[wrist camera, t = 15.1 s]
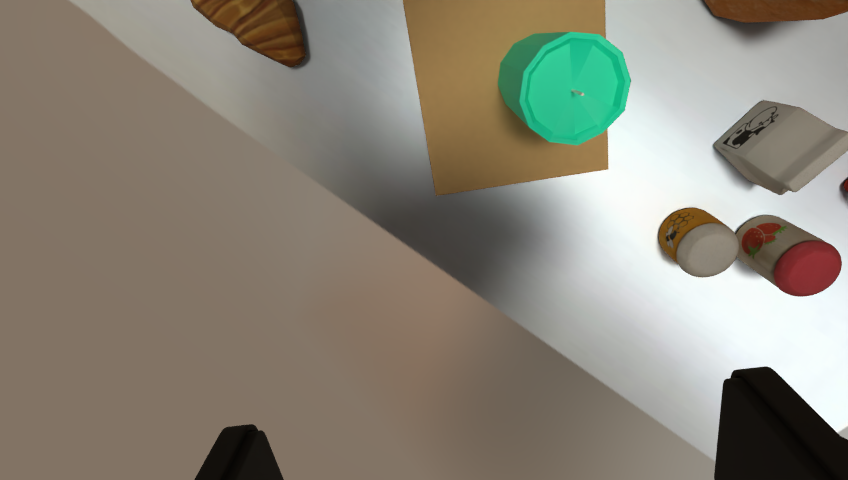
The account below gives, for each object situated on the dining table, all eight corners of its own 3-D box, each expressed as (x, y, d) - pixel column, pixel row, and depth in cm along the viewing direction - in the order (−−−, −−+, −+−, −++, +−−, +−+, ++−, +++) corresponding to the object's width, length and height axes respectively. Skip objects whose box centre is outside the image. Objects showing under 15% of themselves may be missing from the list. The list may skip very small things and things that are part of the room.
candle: (481, 71, 35) (500, 87, 24) (548, 13, 33) (601, 1, 22) (528, 133, 37) (566, 174, 26) (594, 81, 35) (664, 101, 24)
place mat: (388, -86, 32) (388, -87, 31) (601, -132, 30) (602, -133, 30) (436, 195, 39) (436, 195, 39) (607, 168, 38) (608, 169, 38)
